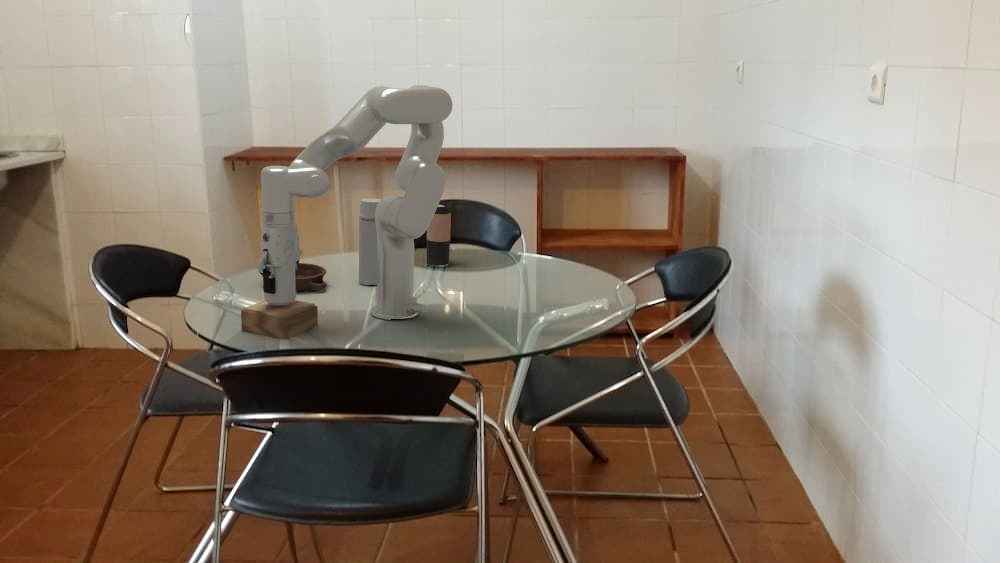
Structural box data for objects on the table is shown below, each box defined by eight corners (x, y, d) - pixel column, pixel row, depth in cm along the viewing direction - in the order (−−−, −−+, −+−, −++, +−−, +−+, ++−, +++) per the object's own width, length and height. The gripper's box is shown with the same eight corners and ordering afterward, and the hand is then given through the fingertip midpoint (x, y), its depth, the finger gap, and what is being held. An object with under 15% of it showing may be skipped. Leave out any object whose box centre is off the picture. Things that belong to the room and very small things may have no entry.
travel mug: (423, 262, 285) (425, 202, 280) (446, 261, 287) (448, 202, 282) (428, 268, 278) (430, 206, 273) (451, 267, 280) (454, 206, 275)
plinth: (317, 324, 218) (317, 303, 216) (285, 339, 206) (285, 317, 205) (275, 316, 223) (274, 295, 221) (241, 330, 211) (241, 308, 210)
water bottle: (371, 288, 252) (372, 203, 246) (352, 283, 257) (352, 199, 250) (393, 282, 259) (394, 200, 253) (374, 277, 264) (375, 196, 257)
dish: (285, 274, 264) (284, 258, 262) (344, 285, 254) (344, 269, 253) (244, 286, 248) (244, 270, 247) (306, 299, 239) (305, 282, 238)
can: (257, 302, 211) (256, 255, 208) (278, 296, 218) (277, 249, 214) (281, 308, 208) (280, 259, 205) (302, 301, 214) (301, 253, 211)
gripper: (268, 226, 198) (270, 300, 203) (313, 214, 214) (314, 283, 218) (241, 222, 201) (244, 295, 206) (288, 210, 216) (289, 279, 221)
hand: (280, 288), depth 212 cm, fingers closed on can, 7 cm apart
